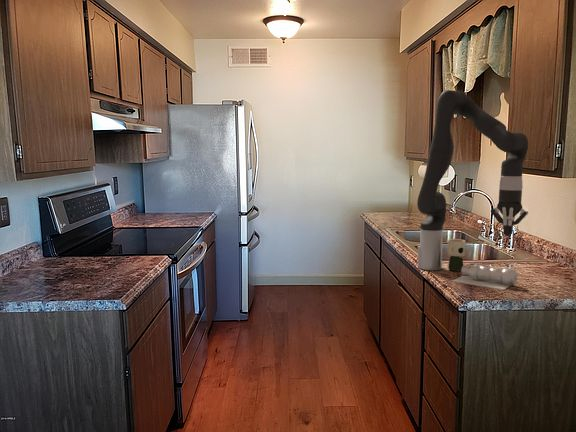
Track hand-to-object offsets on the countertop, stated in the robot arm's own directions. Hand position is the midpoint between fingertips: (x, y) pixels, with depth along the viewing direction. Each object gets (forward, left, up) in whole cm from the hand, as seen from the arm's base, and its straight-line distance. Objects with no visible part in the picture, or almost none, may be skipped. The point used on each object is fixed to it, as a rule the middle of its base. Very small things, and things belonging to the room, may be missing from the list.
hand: (507, 235), depth 175 cm
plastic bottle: (+3, +2, -16) cm, 16 cm away
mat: (-9, 0, -19) cm, 21 cm away
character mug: (-24, +13, -20) cm, 34 cm away
